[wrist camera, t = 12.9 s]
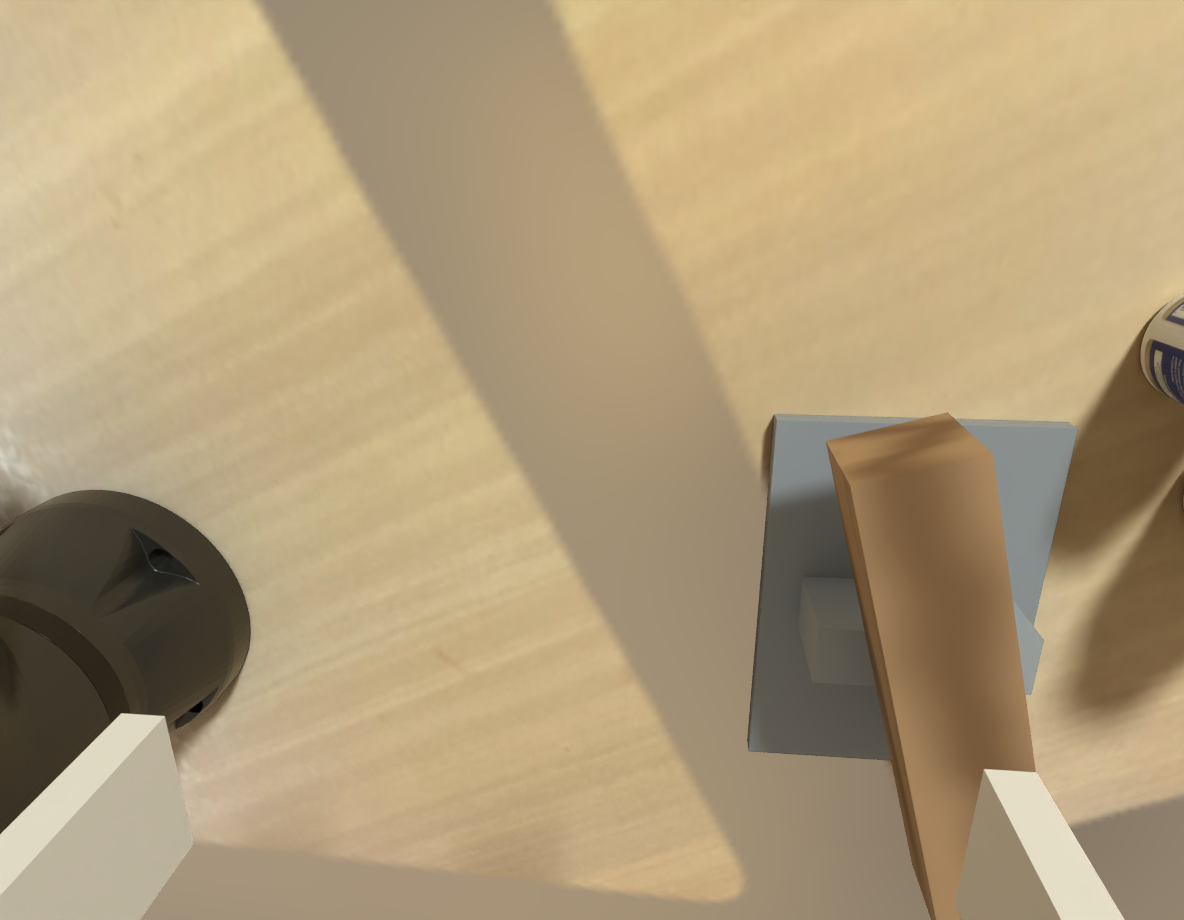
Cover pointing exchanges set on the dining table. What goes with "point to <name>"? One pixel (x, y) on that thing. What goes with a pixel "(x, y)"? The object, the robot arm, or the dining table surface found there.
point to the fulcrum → (827, 589)
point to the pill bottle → (1166, 350)
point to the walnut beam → (935, 628)
